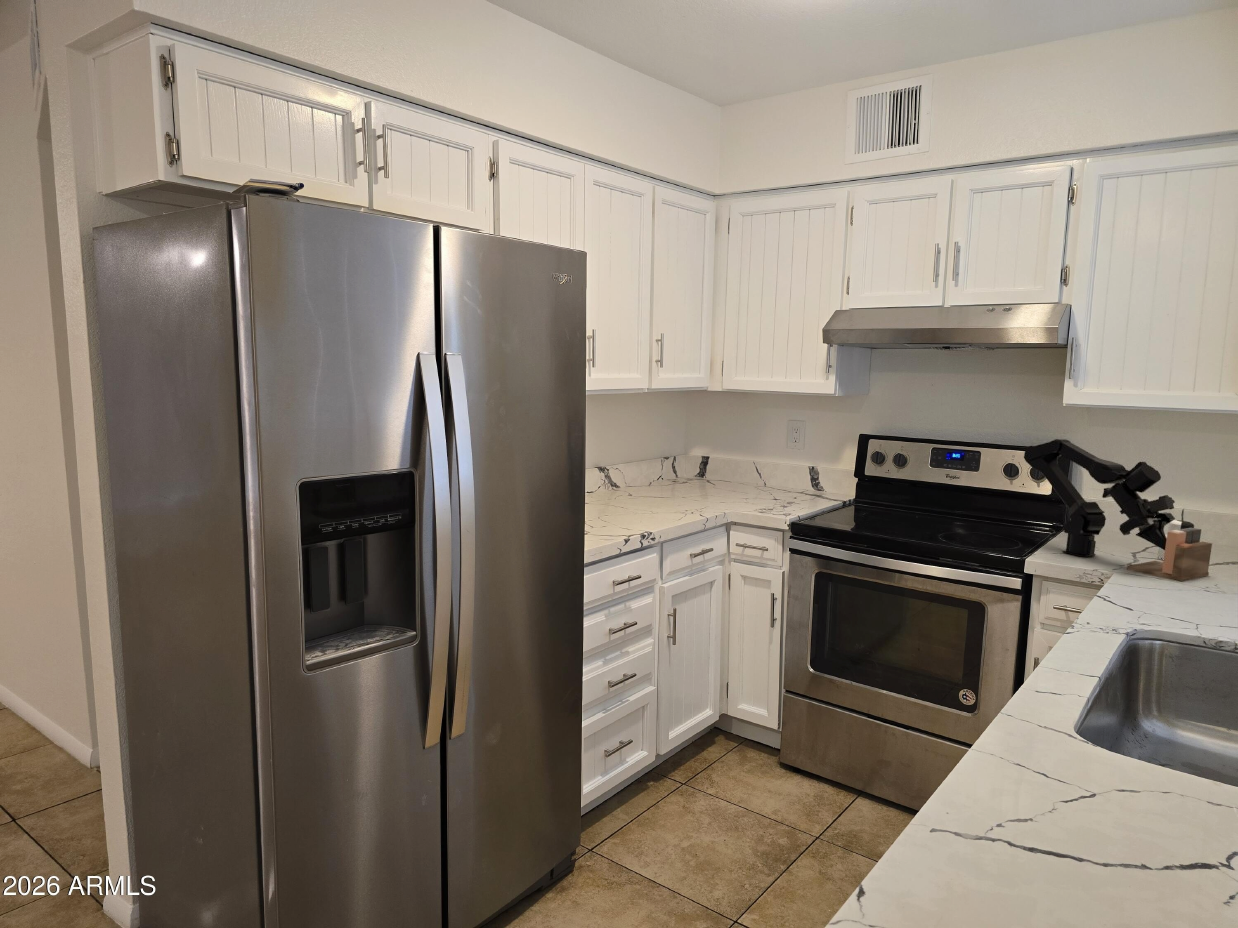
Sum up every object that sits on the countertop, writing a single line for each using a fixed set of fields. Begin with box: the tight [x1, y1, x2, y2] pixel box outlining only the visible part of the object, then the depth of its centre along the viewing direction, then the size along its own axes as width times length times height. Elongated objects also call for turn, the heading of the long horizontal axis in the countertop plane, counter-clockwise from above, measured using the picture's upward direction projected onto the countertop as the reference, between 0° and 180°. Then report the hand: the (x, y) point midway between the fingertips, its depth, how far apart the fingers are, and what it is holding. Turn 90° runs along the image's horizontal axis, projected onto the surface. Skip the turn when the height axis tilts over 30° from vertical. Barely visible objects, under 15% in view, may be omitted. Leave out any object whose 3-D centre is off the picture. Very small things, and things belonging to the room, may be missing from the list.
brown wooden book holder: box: [1126, 527, 1213, 583], centre depth 221 cm, size 14×16×12 cm
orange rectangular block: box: [1162, 530, 1186, 574], centre depth 216 cm, size 2×5×11 cm, turn 122°
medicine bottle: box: [1157, 519, 1195, 560], centre depth 236 cm, size 7×7×12 cm
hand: (1168, 549), depth 217 cm, fingers closed, pressing on orange rectangular block
